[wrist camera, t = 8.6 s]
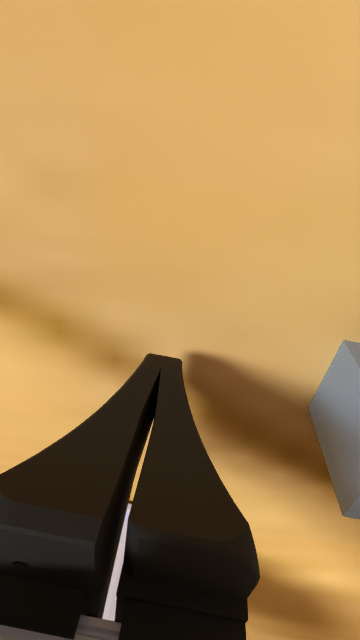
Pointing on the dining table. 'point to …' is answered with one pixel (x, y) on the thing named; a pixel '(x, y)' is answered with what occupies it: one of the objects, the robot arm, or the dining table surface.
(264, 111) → the dining table surface
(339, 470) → the light blue block
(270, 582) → the dining table surface
